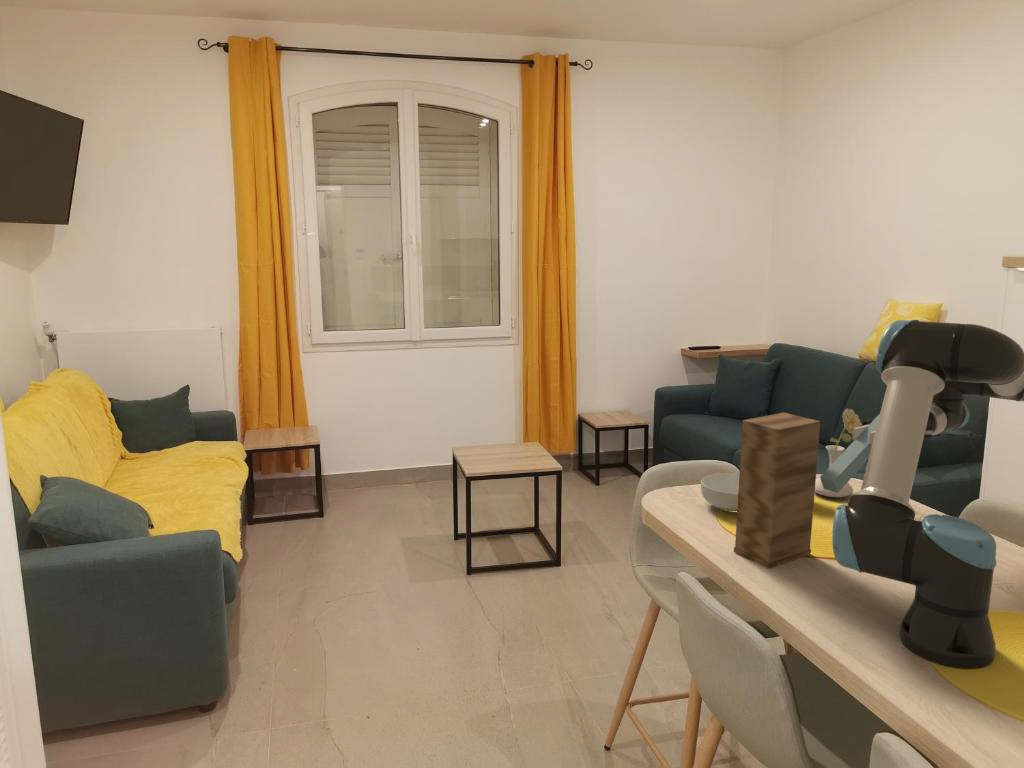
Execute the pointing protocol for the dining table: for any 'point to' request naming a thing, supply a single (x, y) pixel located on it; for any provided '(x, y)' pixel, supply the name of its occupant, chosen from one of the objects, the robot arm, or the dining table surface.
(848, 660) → the dining table surface
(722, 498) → the cereal bowl
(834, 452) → the flower in vase
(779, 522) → the pedestal
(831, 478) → the bar
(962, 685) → the dining table surface
